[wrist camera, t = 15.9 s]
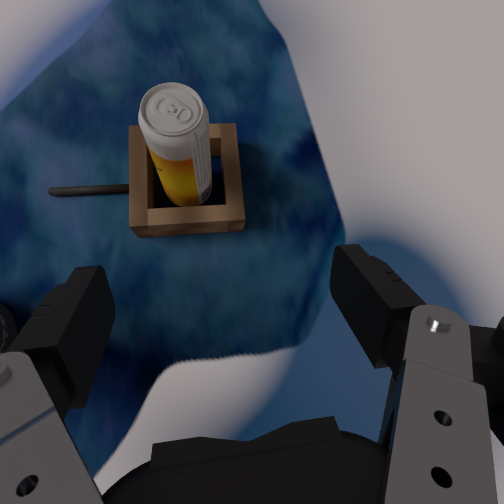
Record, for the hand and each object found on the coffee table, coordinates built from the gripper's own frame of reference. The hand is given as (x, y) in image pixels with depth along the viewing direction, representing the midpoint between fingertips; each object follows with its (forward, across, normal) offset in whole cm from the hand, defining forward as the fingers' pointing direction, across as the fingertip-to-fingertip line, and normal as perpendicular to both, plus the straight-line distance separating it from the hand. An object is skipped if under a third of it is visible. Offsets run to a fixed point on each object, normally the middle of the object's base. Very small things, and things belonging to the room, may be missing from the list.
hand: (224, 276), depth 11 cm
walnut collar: (+31, +8, +7) cm, 33 cm away
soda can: (+31, +3, +7) cm, 32 cm away
